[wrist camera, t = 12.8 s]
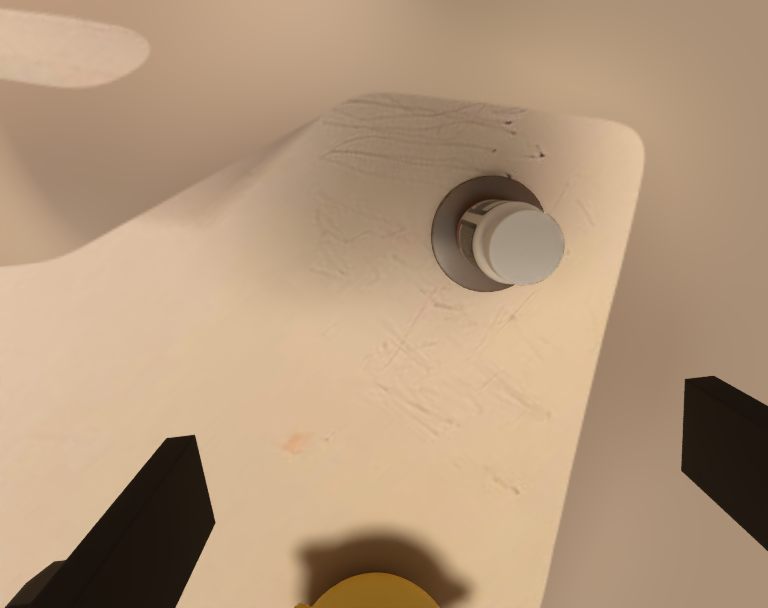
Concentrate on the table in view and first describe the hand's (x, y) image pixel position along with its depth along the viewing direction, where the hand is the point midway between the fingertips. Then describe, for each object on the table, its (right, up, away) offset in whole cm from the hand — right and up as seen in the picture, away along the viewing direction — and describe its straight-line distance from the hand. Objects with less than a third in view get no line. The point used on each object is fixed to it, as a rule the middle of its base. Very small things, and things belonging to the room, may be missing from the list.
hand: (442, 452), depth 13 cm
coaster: (+6, +9, +21) cm, 23 cm away
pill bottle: (+6, +9, +20) cm, 23 cm away
